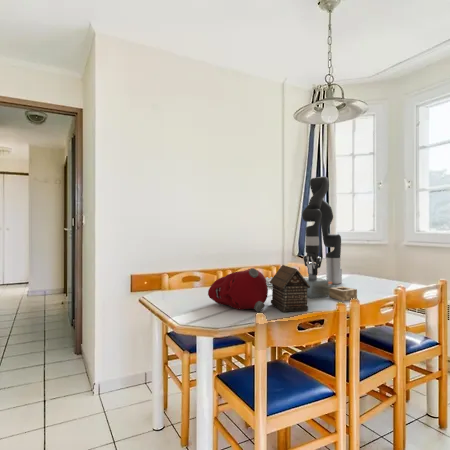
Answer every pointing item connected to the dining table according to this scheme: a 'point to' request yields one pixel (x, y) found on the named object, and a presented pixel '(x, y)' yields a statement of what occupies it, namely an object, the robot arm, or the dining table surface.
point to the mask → (240, 290)
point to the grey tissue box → (318, 288)
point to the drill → (311, 272)
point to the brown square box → (343, 293)
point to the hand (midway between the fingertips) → (312, 274)
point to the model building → (289, 290)
